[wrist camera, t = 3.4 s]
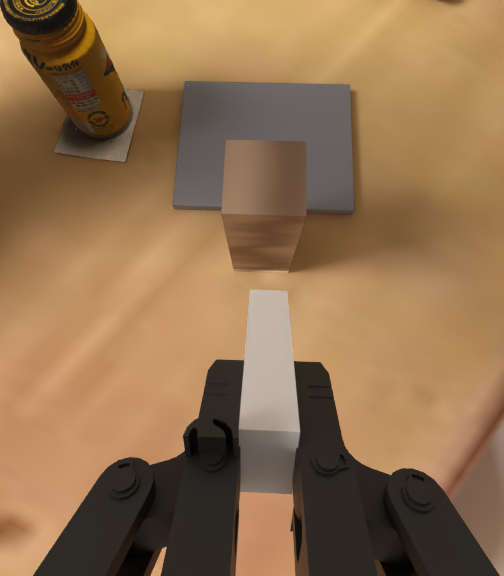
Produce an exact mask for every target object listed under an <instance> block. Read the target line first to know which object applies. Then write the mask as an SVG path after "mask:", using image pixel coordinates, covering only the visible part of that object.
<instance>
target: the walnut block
mask: <svg viewBox="0 0 504 576" xmlns="http://www.w3.org/2000/svg"><path fill="white" fill-rule="evenodd" d="M221 214H222V219H223V223H224V228H225V233H226V237H227V242H228V246H229V251H230V255H231V260H232V265H233V269H234V271H250V272H282V273H288V272H289V269H290V266H291V263H292V260H293V256H294V253H295V250H296V247H297V244H298V241H299V238H300V235H301V232H302V228H303V225H304V222H305V219H306V141H265V140H226V147H225V163H224V179H223V196H222V212H221Z"/></svg>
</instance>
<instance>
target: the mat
mask: <svg viewBox="0 0 504 576" xmlns="http://www.w3.org/2000/svg"><path fill="white" fill-rule="evenodd" d="M226 140H265V141H306V213H330V214H352V213H353V212H354V186H353V157H352V128H351V99H350V85H342V84H295V83H248V82H201V81H185V85H184V95H183V105H182V116H181V126H180V136H179V146H178V157H177V167H176V177H175V188H174V198H173V207H174V209H189V210H222V196H223V179H224V163H225V147H226Z"/></svg>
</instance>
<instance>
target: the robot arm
mask: <svg viewBox="0 0 504 576" xmlns="http://www.w3.org/2000/svg"><path fill="white" fill-rule="evenodd" d="M331 387H332V386H331V381H330V377H329V373H328V372H327V370H326V369H325V368H324V366H323V365H322V364H321V362H297V361H294V359H293V348H292V337H291V326H290V315H289V304H288V293H287V291H278V290H250V297H249V309H248V322H247V334H246V346H245V358H244V360H216V361H215V362H214V363H213V365H212V366H211V367H210V368H209V370H208V373H207V378H206V385H205V388H204V394H203V398H202V403H201V408H200V413H199V418H198V419H196V420H194V421H193V422H192V423H191V424H190V425H189V426H188V427H187V429H186V431H185V433H184V435H183V439H184V446H185V451H184V452H183V453H182V454H180V455H179V456H177V457H175V458H172V459H170V460H167V461H163V462H160V463H156V464H152V465H149V464H148V463H147V462H146V461H144V460H142V459H140V458H132V457H129V458H125V459H121V460H118V461H117V462H115V463H113V464H112V465H110V466H109V467H108V468H107V469H106V470H105V471H104V472H103V473H102V474H101V475H100V477H99V478H98V480H97V481H96V483H95V484H94V486H93V487H92V489H91V490H90V492H89V493H88V495H87V496H86V498H85V499H84V501H83V502H82V504H81V505H80V507H79V508H78V510H77V511H76V512H75V514H74V515H73V517H72V518H71V520H70V521H69V523H68V524H67V526H66V527H65V529H64V530H63V532H62V533H61V535H60V536H59V538H58V539H57V541H56V542H55V544H54V545H53V547H52V548H51V550H50V551H49V553H48V554H47V556H46V557H45V559H44V560H43V562H42V563H41V565H40V566H39V567H38V569H37V570H36V572H35V573H34V575H33V576H150V575H151V573H152V570H153V568H154V566H155V564H156V561H157V559H158V557H159V554H160V552H161V550H162V548H164V547H167V549H166V554H165V559H164V563H163V568H162V573H161V576H235V572H236V556H237V540H238V524H239V497H240V492H259V493H281V494H292V491H293V500H294V509H293V516H292V523H291V531H293V537H294V556H295V575H296V576H499V574H498V572H497V571H496V570H495V568H494V566H493V565H492V563H491V562H490V560H489V559H488V557H487V556H486V554H485V553H484V551H483V550H482V548H481V547H480V545H479V544H478V542H477V541H476V539H475V538H474V536H473V535H472V533H471V532H470V530H469V529H468V527H467V525H466V524H465V522H464V521H463V519H462V518H461V516H460V515H459V514H458V512H457V510H456V509H455V507H454V506H453V504H452V503H451V501H450V500H449V498H448V497H447V495H446V494H445V492H444V491H443V489H442V488H441V487H440V486H439V485H438V484H437V482H436V481H435V480H434V479H432V478H431V477H429V476H428V475H426V474H425V473H423V472H421V471H418V470H415V469H406V468H402V469H399V470H397V471H395V472H393V474H392V475H389V474H386V473H383V472H380V471H377V470H375V469H372V468H369V467H367V466H365V465H363V464H361V463H360V462H358V461H357V460H356V459H354V458H353V456H352V455H351V454H350V453H349V452H348V450H347V449H346V447H345V445H344V442H343V439H342V435H341V430H340V425H339V420H338V415H337V411H336V406H335V401H334V396H333V391H332V388H331Z"/></svg>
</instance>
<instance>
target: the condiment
mask: <svg viewBox="0 0 504 576" xmlns="http://www.w3.org/2000/svg"><path fill="white" fill-rule="evenodd" d="M0 7H1V10H2V13H3V16H4V18H5V19H6V21H7V23H8V24H9V25H10V26H11V27H12V28H13V31H14V33H15V35H16V36H17V37H18V39H19V40H20V46H21V49H22V52H23V54H24V55H25V56H26V58H27V59H28V61H29V62H30V63H31V65H32V66H33V68H34V69H35V70H36V72H37V73H38V74H39V76H40V77H41V79H42V80H43V82H44V83H45V84H46V85H47V87H48V88H49V90H50V91H51V92H52V94H53V95H54V96H55V98H56V99H57V101H58V102H59V103H60V105H61V106H62V107H63V109H64V110H65V112H66V113H67V116H66V119H65V120H64V123H63V127H62V130H61V134H60V136H59V139H58V141H57V143H56V147H55V150H54V152H57V153H63V154H68V155H74V156H80V157H88V158H94V159H104V160H111V161H121V162H125V161H126V157H127V153H128V150H129V145H130V142H131V139H132V134H133V131H134V128H135V125H136V121H137V117H138V114H139V110H140V106H141V102H142V98H143V93H144V91H137V90H128V89H127V90H125V89H124V88H123V85H122V83H121V81H120V79H119V76H118V74H117V72H116V71H115V68H114V66H113V63H112V61H111V59H110V57H109V55H108V53H107V51H106V49H105V46H104V44H103V42H102V40H101V38H100V36H99V33H98V31H97V29H96V27H95V25H94V23H93V21H92V20H91V19H90V17H89V16H88V14H86V13H85V12H84V11H83V9H82V7H81V5H80V4H79V2H78V1H77V0H0ZM76 128H77V130H75V129H76ZM113 139H114V141H111V140H113ZM109 142H111V143H110V144H108V143H109Z"/></svg>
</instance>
